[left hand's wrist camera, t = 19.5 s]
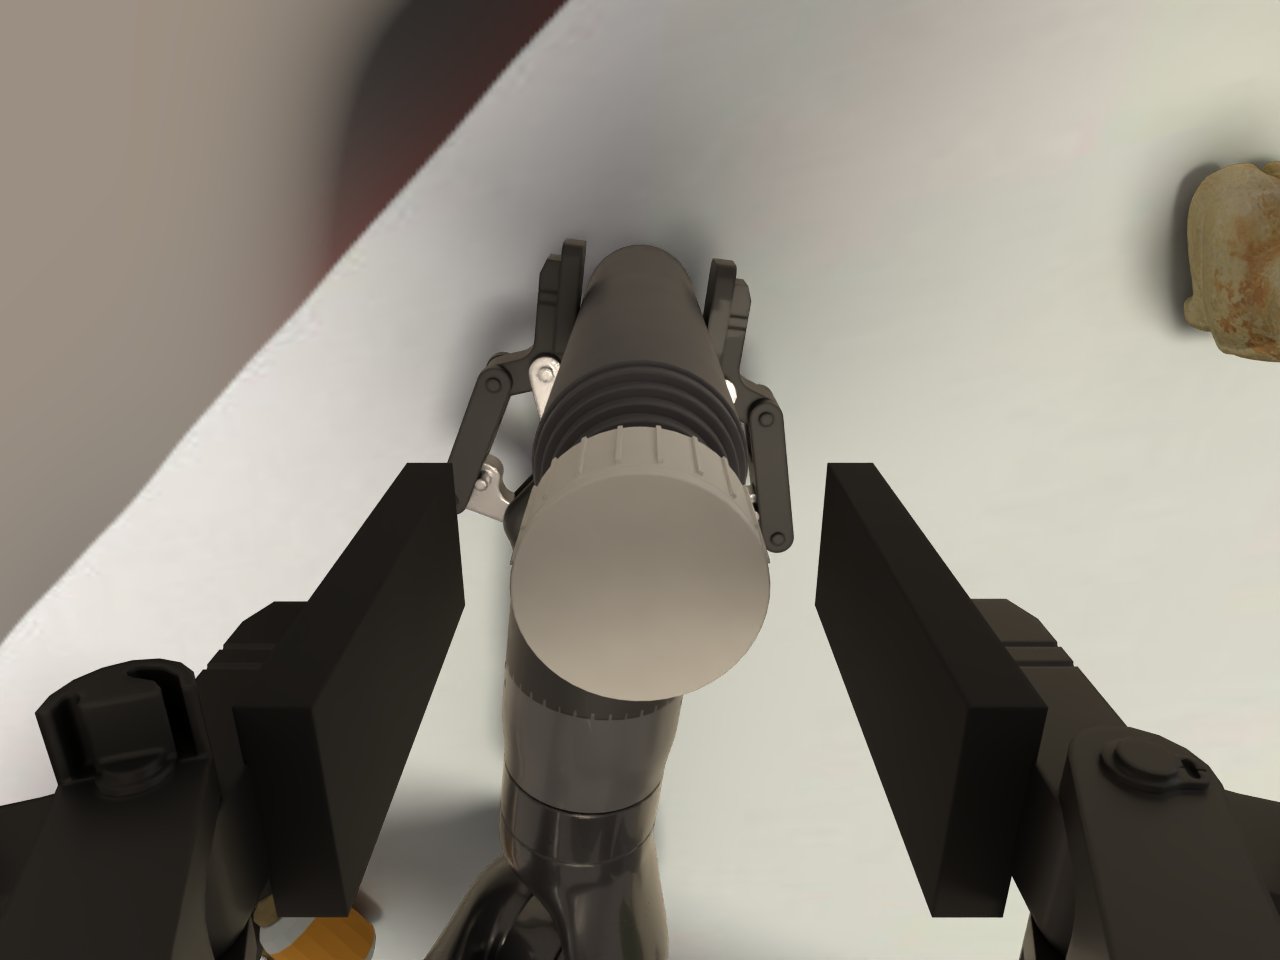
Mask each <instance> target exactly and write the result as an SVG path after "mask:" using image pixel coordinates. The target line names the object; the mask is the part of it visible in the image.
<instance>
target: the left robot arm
mask: <svg viewBox="0 0 1280 960" xmlns="http://www.w3.org/2000/svg"><path fill="white" fill-rule="evenodd" d="M464 606H465V599H464V588H463V576H462V565H461V554H460V543H459V531H458V520H457V509H456V497H455V486H454V475H453V464H452V463H407V464H406V465H405V467H404V468H403V469H402V471H401V472H400V474H399V475H398V476H397V478H396V479H395V481H394V482H393V483H392V485H391V486H390V487H389V489H388V490H387V492H386V493H385V494H384V496H383V497H382V499H381V500H380V501H379V503H378V504H377V506H376V507H375V508H374V510H373V511H372V513H371V514H370V515H369V517H368V518H367V520H366V521H365V522H364V524H363V525H362V526H361V528H360V529H359V531H358V532H357V533H356V535H355V536H354V538H353V539H352V540H351V542H350V543H349V545H348V546H347V547H346V549H345V550H344V552H343V553H342V554H341V556H340V557H339V558H338V560H337V561H336V563H335V564H334V565H333V567H332V568H331V570H330V571H329V572H328V574H327V575H326V577H325V578H324V579H323V581H322V582H321V584H320V585H319V586H318V588H317V589H316V591H315V592H314V593H313V595H312V596H311V597H310V599H309V600H308V602H273V603H271V604H270V605H268V606H266V607H265V608H263V609H262V610H260V611H259V612H257V613H255V614H254V615H252V616H251V617H249V618H248V619H246V620H244V621H243V622H242V623H241V624H240V625H239V627H238V628H237V629H236V630H235V631H234V633H233V634H232V635H231V636H230V638H229V639H228V640H227V641H226V642H225V644H224V645H223V650H219V651H218V652H217V653H216V655H215V656H214V657H213V658H212V659H211V661H210V662H209V663H208V664H207V670H202V672H201V673H200V674H199V675H198V676H197V678H196V679H195V676H194V672H193V671H192V670H191V669H189V668H188V667H186V666H185V665H184V664H182V663H181V662H176V661H170V660H165V659H145V660H132V661H128V662H123V663H119V664H115V665H111V666H107V667H103V668H100V669H98V670H96V671H93V672H91V673H89V674H86V675H84V676H82V677H79V678H77V679H74V680H73V681H71V682H70V683H68V684H67V685H65V686H63V687H62V688H60V689H59V690H57V691H56V692H54V693H53V694H51V695H50V696H49V697H48V698H47V699H46V700H45V702H44V703H43V704H42V705H41V706H40V707H39V709H38V710H37V711H36V712H35V715H36V718H37V721H38V724H39V728H40V731H41V734H42V737H43V740H44V743H45V746H46V749H47V752H48V755H49V758H50V761H51V765H52V768H53V771H54V774H55V777H56V780H57V783H58V787H57V789H56V791H55V794H51V795H48V796H44V797H40V798H36V799H31V800H26V801H21V802H17V803H12V804H7V805H3V806H0V960H256V954H257V945H256V939H255V933H254V928H253V923H252V919H251V913H252V911H253V909H254V907H255V905H256V903H257V901H258V899H259V897H260V895H261V893H262V891H263V889H264V887H265V885H266V883H267V881H268V879H269V881H270V886H271V891H272V895H273V900H274V904H275V909H276V914H277V917H348V916H349V913H350V910H351V908H352V905H353V902H354V900H355V897H356V894H357V892H358V889H359V886H360V884H361V881H362V878H363V876H364V873H365V870H366V868H367V865H368V862H369V860H370V857H371V854H372V852H373V849H374V846H375V844H376V841H377V838H378V836H379V833H380V830H381V828H382V825H383V822H384V820H385V817H386V814H387V812H388V809H389V806H390V804H391V801H392V798H393V796H394V793H395V790H396V788H397V785H398V782H399V780H400V777H401V774H402V772H403V769H404V766H405V764H406V761H407V758H408V756H409V753H410V750H411V748H412V745H413V742H414V740H415V737H416V734H417V732H418V729H419V726H420V724H421V721H422V718H423V716H424V713H425V710H426V708H427V705H428V702H429V700H430V697H431V694H432V692H433V689H434V686H435V684H436V681H437V678H438V676H439V673H440V670H441V668H442V665H443V662H444V660H445V657H446V654H447V652H448V649H449V646H450V644H451V641H452V638H453V636H454V633H455V630H456V628H457V625H458V622H459V620H460V617H461V614H462V612H463V609H464ZM815 606H816V609H817V612H818V614H819V617H820V620H821V622H822V625H823V628H824V630H825V633H826V636H827V638H828V641H829V644H830V646H831V649H832V652H833V654H834V657H835V660H836V662H837V665H838V668H839V670H840V673H841V676H842V678H843V681H844V684H845V686H846V689H847V692H848V694H849V697H850V700H851V702H852V705H853V708H854V710H855V713H856V716H857V718H858V721H859V724H860V726H861V729H862V732H863V734H864V737H865V740H866V742H867V745H868V748H869V750H870V753H871V756H872V758H873V761H874V764H875V766H876V769H877V772H878V774H879V777H880V780H881V782H882V785H883V788H884V790H885V793H886V796H887V798H888V801H889V804H890V806H891V809H892V812H893V814H894V817H895V820H896V822H897V825H898V828H899V830H900V833H901V836H902V838H903V841H904V844H905V846H906V849H907V852H908V854H909V857H910V860H911V862H912V865H913V868H914V870H915V873H916V876H917V878H918V881H919V884H920V886H921V889H922V892H923V894H924V897H925V900H926V902H927V905H928V908H929V910H930V913H931V916H932V917H1003V914H1004V909H1005V904H1006V900H1007V895H1008V891H1009V886H1010V881H1011V877H1013V879H1014V881H1015V883H1016V885H1017V887H1018V889H1019V891H1020V893H1021V895H1022V897H1023V899H1024V901H1025V903H1026V905H1027V907H1028V909H1029V911H1030V915H1029V919H1028V923H1027V928H1026V932H1025V936H1024V941H1023V945H1022V949H1021V953H1020V958H1019V960H1280V802H1276V801H1271V800H1267V799H1262V798H1257V797H1252V796H1248V795H1243V794H1239V793H1235V792H1231V791H1228V790H1224V787H1223V785H1222V783H1221V782H1220V781H1219V779H1218V778H1217V776H1216V775H1215V774H1214V772H1213V771H1212V770H1211V768H1210V767H1209V766H1208V765H1207V764H1206V763H1205V762H1203V761H1202V760H1201V759H1199V758H1198V757H1197V756H1195V755H1194V754H1193V753H1191V752H1190V751H1189V750H1188V749H1186V748H1184V747H1182V746H1180V745H1178V744H1176V743H1174V742H1172V741H1170V740H1168V739H1166V738H1164V737H1161V736H1159V735H1156V734H1153V733H1149V732H1146V731H1142V730H1139V729H1135V728H1131V727H1127V726H1126V724H1125V723H1124V722H1123V721H1122V720H1121V718H1120V717H1119V716H1118V715H1117V714H1116V712H1115V711H1114V710H1113V709H1112V708H1111V706H1110V705H1109V704H1108V703H1107V702H1106V700H1105V699H1104V698H1103V697H1102V696H1101V694H1100V693H1099V692H1098V691H1097V689H1096V688H1095V687H1094V686H1093V685H1092V683H1091V682H1090V681H1089V680H1088V679H1087V677H1086V676H1085V675H1084V674H1083V673H1082V671H1081V670H1080V669H1079V668H1078V667H1074V665H1073V661H1072V659H1071V658H1070V657H1069V656H1068V654H1067V653H1066V652H1065V651H1064V650H1063V648H1062V647H1058V646H1057V641H1056V640H1055V639H1054V638H1053V636H1052V635H1051V634H1050V633H1049V632H1048V630H1047V629H1046V628H1045V627H1044V626H1043V624H1042V623H1041V622H1040V621H1039V620H1038V619H1037V618H1036V617H1034V616H1033V615H1031V614H1029V613H1028V612H1026V611H1025V610H1023V609H1021V608H1020V607H1018V606H1017V605H1015V604H1014V603H1012V602H1010V601H1009V600H1007V599H970V597H969V596H968V595H967V593H966V592H965V591H964V589H963V588H962V586H961V585H960V584H959V582H958V581H957V579H956V578H955V577H954V575H953V574H952V572H951V571H950V570H949V568H948V567H947V565H946V564H945V563H944V561H943V560H942V558H941V557H940V556H939V554H938V553H937V552H936V550H935V549H934V547H933V546H932V545H931V543H930V542H929V540H928V539H927V538H926V536H925V535H924V533H923V532H922V531H921V529H920V528H919V526H918V525H917V524H916V522H915V521H914V520H913V518H912V517H911V515H910V514H909V513H908V511H907V510H906V508H905V507H904V506H903V504H902V503H901V501H900V500H899V499H898V497H897V496H896V494H895V493H894V492H893V490H892V489H891V487H890V486H889V485H888V483H887V482H886V481H885V479H884V478H883V476H882V475H881V474H880V472H879V471H878V469H877V468H876V467H875V465H874V464H873V463H828V464H827V475H826V486H825V497H824V509H823V520H822V531H821V543H820V554H819V565H818V576H817V588H816V599H815Z"/></svg>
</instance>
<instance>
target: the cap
mask: <svg viewBox="0 0 1280 960" xmlns="http://www.w3.org/2000/svg"><path fill="white" fill-rule="evenodd" d="M768 563H770V559H769V556H768V553H767V549H766V546H765V543H764V540H763V536H762V533H761V530H760V527H759V523H758V520H757V517H756V514H755V511H754V507H753V504H752V501H751V498H750V494H749V491H748V488H747V486H746V484H744V485H742V484H741V482H740V480H739V479H738V477H737V475H736V474H735V473H734V471H733V470H732V469H731V468H730V466H729V465H728V461H727V459H726V458H725V457H724V456H723V457H722V458H721V457H720V456H719V455H718V454H717V453H715V452H714V451H712V450H711V449H710V448H708V447H707V446H705V445H704V444H702V443H700V442H698V439H697V437H695V436H692V438H691V437H688V436H686V435H683V434H680V433H678V432H674V431H670V430H666V429H661V426H658V425H656V428H652V427H627V428H623V426H618V428H617V429H614V430H610V431H606V432H603V433H599V434H597V435H595V436H592V437H590V438H587V437H586V436H585V437H583V438H582V439H581V442H580V443H578V444H577V445H575V446H573V447H572V448H570V449H569V450H568V451H566V452H565V453H564V454H563V455H561V456H560V457H559V458H558V459H557V458H556V457H555V458H554V459H553V460H552V463H551V466H550V468H549V469H548V470H547V472H546V473H545V474H544V476H543V477H542V479H541V480H540V482H539V484H538V486H535V485H534V486H533V488H532V491H531V494H530V497H529V501H528V504H527V507H526V510H525V514H524V517H523V520H522V523H521V527H520V531H519V535H518V538H517V541H516V544H515V548H514V551H513V554H512V557H511V561H510V565H512V569H511V578H510V595H511V604H512V608H513V612H514V616H515V619H516V622H517V624H518V627H519V629H520V631H521V633H522V635H523V637H524V638H525V640H526V642H527V644H528V645H529V647H530V648H531V649H532V650H533V652H534V653H535V654H536V656H537V657H538V658H539V659H540V660H541V661H542V662H543V663H544V664H545V665H546V666H547V667H548V668H549V669H551V670H552V671H553V672H554V673H556V674H557V675H558V676H560V677H561V678H563V679H564V680H566V681H568V682H569V683H571V684H573V685H575V686H577V687H579V688H581V689H583V690H586V691H588V692H591V693H594V694H597V695H600V696H604V697H608V698H613V699H618V700H629V701H653V700H661V699H668V698H672V697H676V696H680V695H683V694H686V693H689V692H692V691H695V690H697V689H699V688H701V687H703V686H705V685H707V684H709V683H711V682H713V681H714V680H716V679H717V678H719V677H720V676H722V675H723V674H725V673H726V672H727V671H728V670H729V669H731V668H732V667H733V666H734V665H735V664H736V663H737V662H738V661H739V660H740V659H741V658H742V657H743V656H744V655H745V654H746V652H747V651H748V649H749V648H750V647H751V645H752V644H753V642H754V641H755V639H756V637H757V635H758V633H759V631H760V629H761V627H762V625H763V622H764V619H765V616H766V613H767V609H768V604H769V599H770V576H769V567H768Z"/></svg>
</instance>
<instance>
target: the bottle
mask: <svg viewBox="0 0 1280 960" xmlns="http://www.w3.org/2000/svg"><path fill="white" fill-rule="evenodd" d="M656 425H658V426H661V429H666V430H670V431H674V432H678V433H680V434H683V435H686V436H688V437H691V438H692V436H695V437H697V439H698V442H700V443H702V444H704V445H705V446H707V447H708V448H710V449H711V450H712V451H714V452H715V453H717V454H718V455H719V456H720V457H721V458H722V457H723V456H724V457H725V458H726V459H727V461H728V465H729V466H730V468H731V469H732V470H733V471H734V473H735V474H736V475H737V477H738V479H739V480H740V482H741V484H742V485H744V484H745V483H746V478H747V472H748V451H747V443H746V439H745V435H744V431H743V429H742V426H741V423H740V420H739V417H738V414H737V412H736V409H735V406H734V403H733V400H732V398H731V395H730V392H729V389H728V386H727V383H726V381H725V378H724V375H723V372H722V369H721V366H720V364H719V361H718V358H717V355H716V352H715V350H714V347H713V344H712V341H711V338H710V335H709V333H708V330H707V327H706V324H705V321H704V319H703V316H702V313H701V310H700V307H699V304H698V302H697V299H696V296H695V293H694V290H693V287H692V285H691V282H690V279H689V277H688V275H687V273H686V271H685V269H684V268H683V267H682V265H681V264H680V263H679V262H678V261H677V260H676V259H675V258H674V257H673V256H671V255H670V254H669V253H667V252H665V251H663V250H661V249H659V248H656V247H652V246H647V245H633V246H628V247H624V248H621V249H619V250H617V251H615V252H613V253H611V254H610V255H608V256H607V257H606V258H605V259H604V260H603V261H602V262H601V263H600V264H599V265H598V266H597V268H596V269H595V271H594V273H593V275H592V277H591V279H590V282H589V285H588V287H587V290H586V293H585V296H584V299H583V302H582V304H581V307H580V310H579V313H578V316H577V318H576V321H575V324H574V327H573V330H572V333H571V335H570V338H569V341H568V344H567V347H566V350H565V352H564V355H563V358H562V361H561V364H560V367H559V369H558V372H557V375H556V378H555V381H554V384H553V386H552V389H551V392H550V395H549V398H548V401H547V403H546V406H545V409H544V412H543V415H542V418H541V420H540V423H539V426H538V429H537V432H536V435H535V440H534V444H533V452H532V471H533V477H534V483H535V486H538V484H539V482H540V480H541V479H542V477H543V476H544V474H545V473H546V472H547V470H548V469H549V468H550V466H551V463H552V460H553V459H554V458H555V457H556V458H557V459H558V458H559V457H560V456H561V455H563V454H564V453H565V452H566V451H568V450H569V449H570V448H572V447H573V446H575V445H577V444H578V443H580V442H581V439H582V438H583V437H585V436H586V437H587V438H590V437H592V436H595V435H597V434H599V433H603V432H606V431H610V430H614V429H617V428H618V426H623V428H627V427H652V428H656Z"/></svg>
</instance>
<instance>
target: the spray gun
mask: <svg viewBox="0 0 1280 960" xmlns="http://www.w3.org/2000/svg"><path fill="white" fill-rule="evenodd" d="M251 919H252V923H253V928H254V933H255V939H256V945H257V954H256V960H260V958H261V956H264V957H266V958H267V960H371V958H372V957H373V953H374V949H375V941H376V935H375V930H374V927H373V926H372V925H371V924H370V923H369V922H368V921H367V920H366V919H365V918H363V917H362V916H361V915H360V914H359V913H358V912H357V911H355V910H354V909H353V908H351V910H350V913H349V916H348V917H277V914H276V909H275V904H274V900H273V895H272V891H271V886H270V881H269V879H268V881H267V883H266V885H265V887H264V889H263V891H262V893H261V895H260V897H259V899H258V905H257V907H256V910H255V912H253V911H252V913H251Z"/></svg>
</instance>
